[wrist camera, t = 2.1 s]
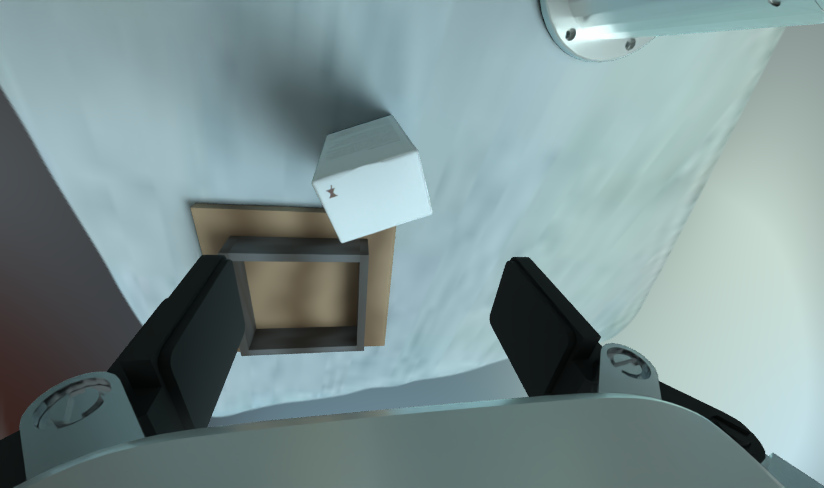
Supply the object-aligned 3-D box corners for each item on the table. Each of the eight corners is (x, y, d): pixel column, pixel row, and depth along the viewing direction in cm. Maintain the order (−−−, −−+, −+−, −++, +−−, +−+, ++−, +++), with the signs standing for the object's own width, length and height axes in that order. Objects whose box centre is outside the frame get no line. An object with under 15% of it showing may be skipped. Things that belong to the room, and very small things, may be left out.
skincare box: (344, 180, 29) (337, 246, 19) (325, 134, 26) (307, 180, 16) (407, 160, 29) (435, 216, 19) (394, 112, 26) (417, 146, 16)
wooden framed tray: (396, 211, 31) (400, 229, 28) (383, 339, 40) (386, 365, 37) (195, 203, 28) (173, 223, 24) (230, 345, 37) (217, 374, 33)
